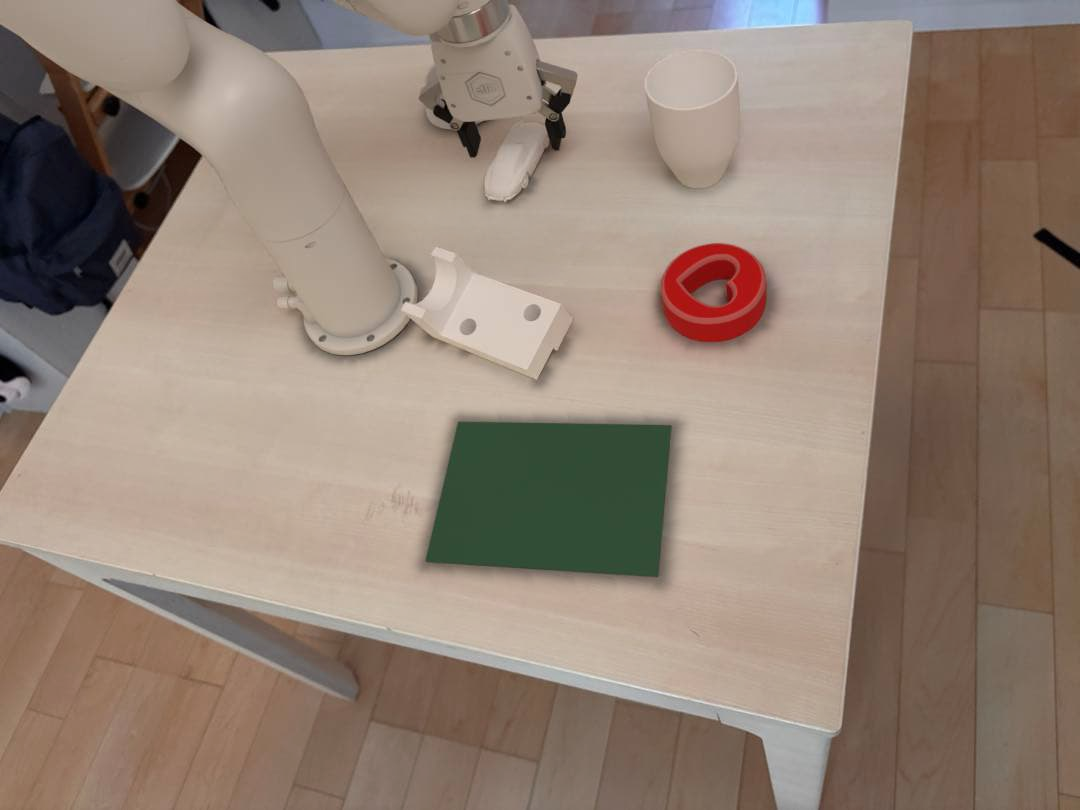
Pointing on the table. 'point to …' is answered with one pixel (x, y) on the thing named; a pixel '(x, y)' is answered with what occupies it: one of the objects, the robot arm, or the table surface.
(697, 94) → the mug
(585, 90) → the table surface
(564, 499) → the cloth mat
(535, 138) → the toy car
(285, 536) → the table surface
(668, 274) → the decorative ornament
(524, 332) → the bracket
